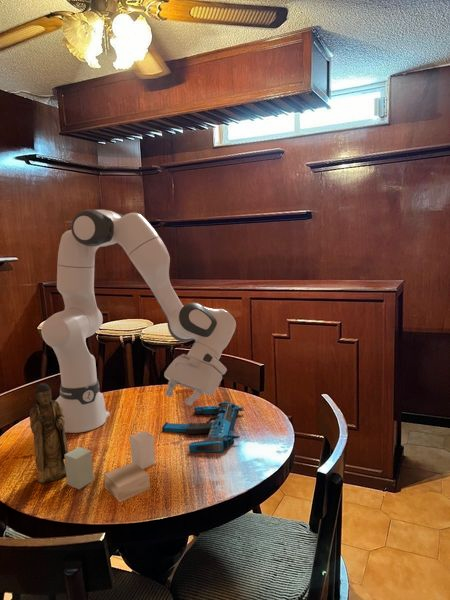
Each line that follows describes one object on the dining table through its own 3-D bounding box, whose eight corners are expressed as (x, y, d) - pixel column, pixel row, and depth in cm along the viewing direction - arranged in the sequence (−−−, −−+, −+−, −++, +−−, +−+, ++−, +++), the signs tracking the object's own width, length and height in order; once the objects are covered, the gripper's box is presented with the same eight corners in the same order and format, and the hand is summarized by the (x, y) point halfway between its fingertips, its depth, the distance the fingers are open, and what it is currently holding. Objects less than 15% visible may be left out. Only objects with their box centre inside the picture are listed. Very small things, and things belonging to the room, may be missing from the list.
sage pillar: (67, 484, 108) (64, 454, 107) (81, 475, 112) (79, 446, 110) (79, 489, 106) (76, 459, 104) (93, 480, 109) (90, 450, 108)
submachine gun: (177, 398, 156) (245, 394, 153) (178, 407, 157) (246, 404, 154) (150, 443, 122) (237, 440, 119) (151, 455, 123) (238, 453, 120)
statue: (27, 488, 107) (16, 392, 103) (45, 468, 116) (35, 379, 112) (63, 488, 106) (53, 391, 103) (78, 468, 115) (69, 378, 112)
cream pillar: (132, 463, 117) (129, 436, 115) (146, 457, 120) (144, 430, 118) (140, 470, 113) (138, 441, 112) (155, 463, 116) (153, 435, 115)
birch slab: (105, 488, 106) (103, 473, 105) (134, 476, 111) (133, 461, 110) (119, 503, 100) (118, 487, 99) (150, 489, 105) (149, 474, 104)
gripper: (174, 347, 133) (149, 386, 128) (218, 359, 118) (192, 403, 113) (186, 358, 137) (163, 396, 132) (231, 371, 122) (206, 414, 117)
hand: (177, 400), depth 122 cm, fingers open, 8 cm apart
